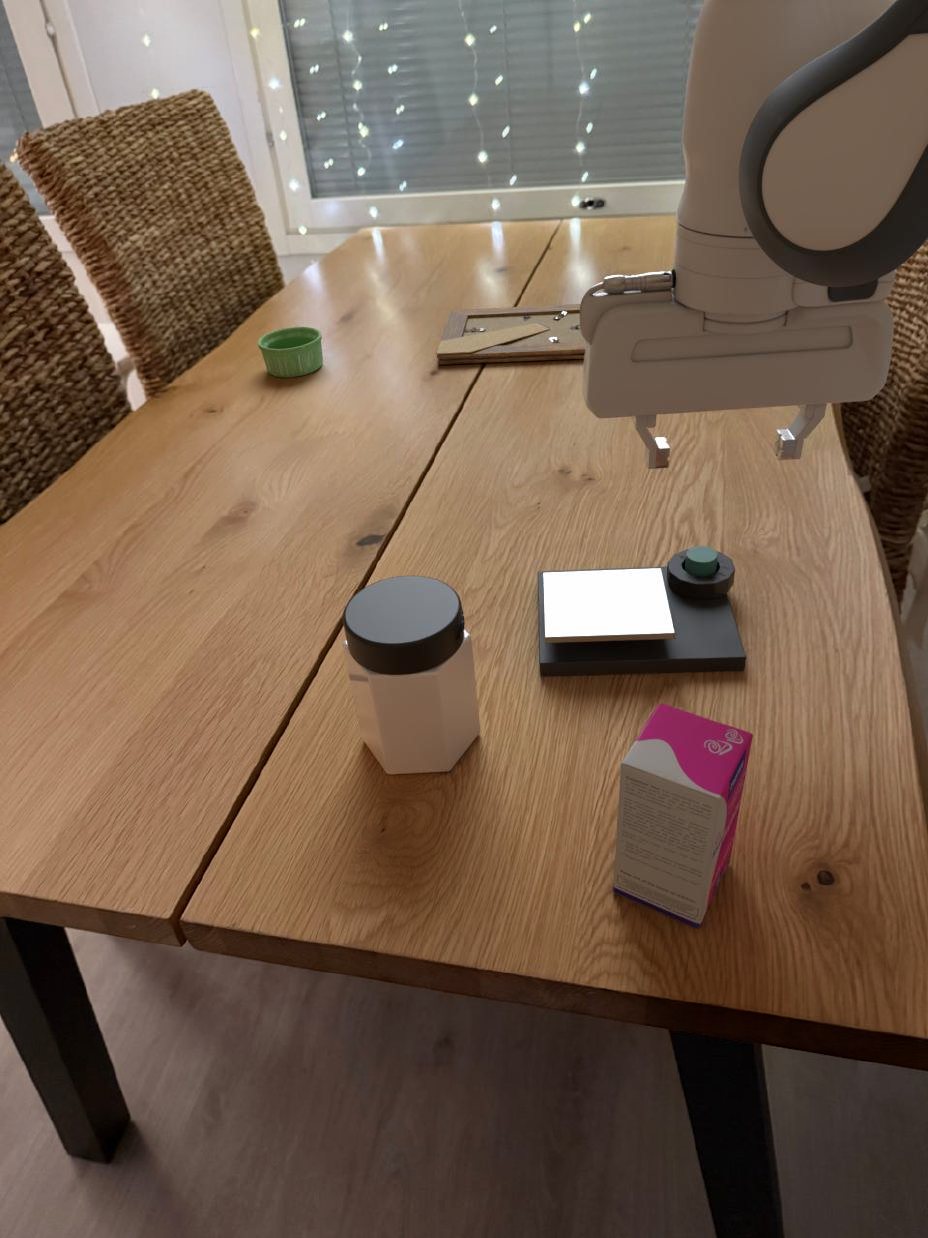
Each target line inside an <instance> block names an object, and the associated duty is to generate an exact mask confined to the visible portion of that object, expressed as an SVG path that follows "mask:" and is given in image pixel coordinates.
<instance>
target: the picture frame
mask: <svg viewBox="0 0 928 1238" xmlns="http://www.w3.org/2000/svg"><path fill="white" fill-rule="evenodd" d="M580 304H581V303H569V304H550V305H527V306H526V305H525V306H509V307H508V306H507V307H489V308H469V309H467V308H466V309H451V310H450V312H449V316H448V318H447V322H446V325H445V328H444V331H443V335H442V336H441V340H440V341H439V344H438V348H437V349H436V350H437V351H436V359H437V360H436V363H437V365H459V364H460V365H461V364H481V363H506V362H528V361H532V362H533V361H551V360H552V361H553V360H575V359H576V360H578V359H579V360H580V359H584V356H585V350H586V344H587V342H586V341H585V340H584V339H583V337H582V335H581V332H580Z"/></svg>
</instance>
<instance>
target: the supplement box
mask: <svg viewBox="0 0 928 1238" xmlns="http://www.w3.org/2000/svg"><path fill="white" fill-rule="evenodd" d="M753 738H754V735H753V733H751V732H749V731H746V730H744V729H741V728H738V727H734V726H732V725H729V724H725V723H722V722H718V721H715V720H712V719H709V718H706V717H703V716H701V715H698V714H695V713H692V712H689V711H687V710H683V709H681V708H677V707H675V706H672V705H669V704H666V703H664V702H660V703H658V705H657V706H656V707H655V708H654V710H653V712H652V713H651V715H650V716H649V717H648V719H647V721H646V723H645V724H644V726H643V727H642V729H641V730H640V732H639V734H638V735H637V737H636V738H635V739H634V742H633V743H632V745H631V746H630V747H629V749H628V751H627V753H626V754H625V755H624V757H623V759H622V761H621V763H620V771H619V772H620V773H619V774H620V775H619V788H618V791H619V793H618V804H617V819H616V835H615V851H614V852H615V853H614V868H613V880H612V887H611V892H612V893H613V894H616V895H618V896H620V897H622V898H625V899H627V900H630V901H631V902H634V903H637V904H639V905H641V906H644V907H646V908H648V909H651V910H653V911H655V912H657V913H660V914H663V915H665V916H667V917H669V918H671V919H673V920H676V921H678V922H681V923H682V924H685V925H687V926H690V927H692V928H695V929H699V928H701V926H702V924H703V921H704V918H705V916H706V913H707V911H708V908H709V906H710V903H711V901H712V899H713V898H714V896H715V893H716V892H717V889H718V886H719V884H720V882H721V880H722V878H723V876H724V874H725V872H726V870H727V868H728V866H729V865H730V862H731V858H732V854H733V853H732V852H733V847H734V843H735V842H734V841H735V838H736V837H735V836H736V829H737V825H738V819H739V814H740V808H741V803H742V797H743V792H744V786H745V781H746V776H747V768H748V764H749V760H750V754H751V748H752V743H753Z"/></svg>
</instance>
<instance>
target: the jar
mask: <svg viewBox="0 0 928 1238" xmlns="http://www.w3.org/2000/svg"><path fill="white" fill-rule="evenodd" d="M342 624H343V630H344V635H345V640H343V642H342V649H343V654H344V658H345V663H346V668H347V673H348V677H349V683H350V686H351V687H350V688H351V692H352V697H353V702H354V707H355V713H356V717H357V722H358V727H359V731H360V736H361V739H362V741H363V742H364V743H365V745H366V746H367V748H368V749H369V751H370V752H371V753H372V755H373V756H374V758H375V759H376V760H377V762H378V763H379V765H380V766H381V767H382V769H383V771H384V772H385V773H386V774H387V775H407V774H408V775H409V774H427V773H428V774H429V773H448V772H450V771H452V769H453V768H454V767H455V765H456V764H457V763H458V761H459V760H460V759H461V758H462V756H463V755H464V754H465V753H466V751H467V750H468V748H469V747H470V746H471V745H472V744H473V743H474V741H475V740H476V738H478V736H479V735H480V733H481V723H480V711H479V701H478V694H477V693H478V692H477V691H478V690H477V682H476V672H475V671H476V670H475V662H474V661H475V660H474V650H473V640H472V635H471V634H470V632H468V631H467V629H465V625H466V623H465V614H464V609H463V605H462V600H461V597H460V595H459V594H458V592H457V591H456V590H455V589H454V588H453V587H452V586H451V585H449V584H448V583H446V582H444V581H442V580H439V579H437V578H434V577H430V576H422V575H401V576H400V575H399V576H392V577H389V578H385V579H381V580H377V581H375V582H373V583H371V584H369V585H367V586H365V587H363V588H362V589H360V590H359V591H357V592H356V593H355V594H354V595H353V596H352V597H351V598H350V599H349V600H348V602H347V603H346V604H345V606H344V609H343V611H342Z"/></svg>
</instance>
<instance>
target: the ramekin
mask: <svg viewBox="0 0 928 1238" xmlns="http://www.w3.org/2000/svg"><path fill="white" fill-rule="evenodd" d="M322 337H323V334H322V331H320V330H319V329H318V328H315V327H311V326H290V327H284V328H280V329H276V330H273V331H270V332H268V333H265V334H264V335H262V336H261V337H260V338H259V339H258V341H257V347H258V348H259V350H260V352H261V355H262V358H263V362H264V364H265V368H266V371H267V372H268V373H269V374H270V375H272V376H274V377H278V378H296V377H302V376H305V375H309V374H311V373H314V372H316V371H317V370H319V369H320V368H321V367H322V365H323V363H324V357H323V349H322V348H323V347H322V346H323V345H322V339H323V338H322Z"/></svg>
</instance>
